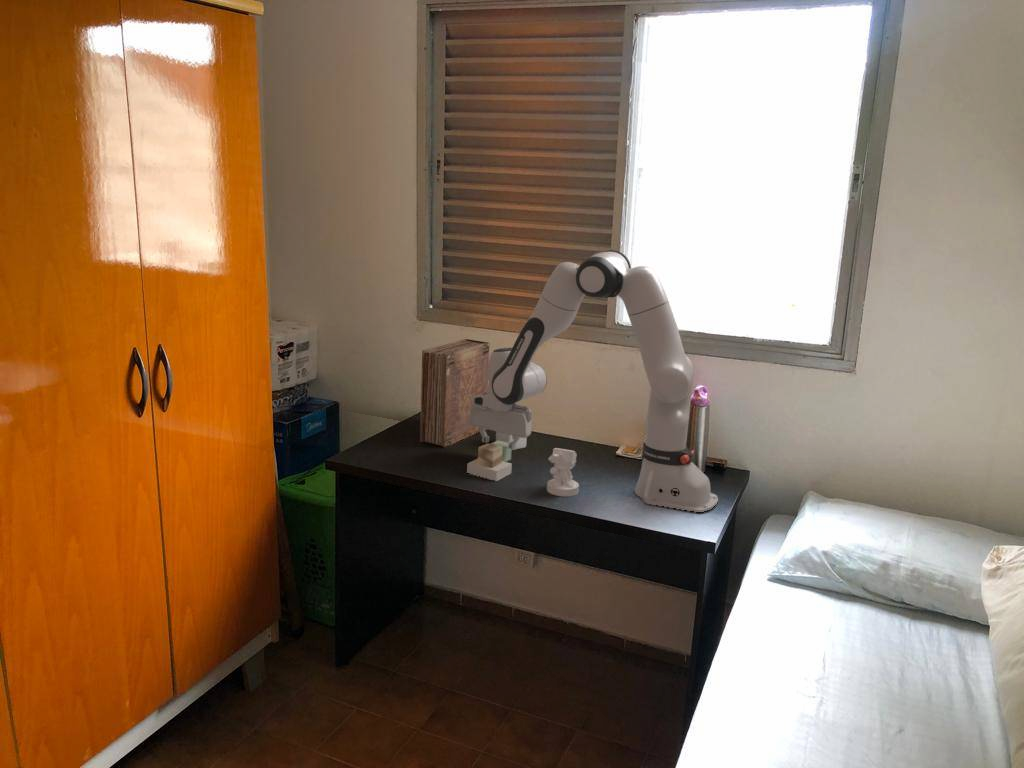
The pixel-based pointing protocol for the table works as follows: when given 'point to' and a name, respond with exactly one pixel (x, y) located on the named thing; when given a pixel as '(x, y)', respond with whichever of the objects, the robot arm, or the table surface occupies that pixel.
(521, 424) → the robot arm
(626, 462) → the table surface
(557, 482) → the character figurine
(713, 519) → the table surface
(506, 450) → the sage cube
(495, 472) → the tile slab
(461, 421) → the book
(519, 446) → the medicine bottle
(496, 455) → the maple cube
